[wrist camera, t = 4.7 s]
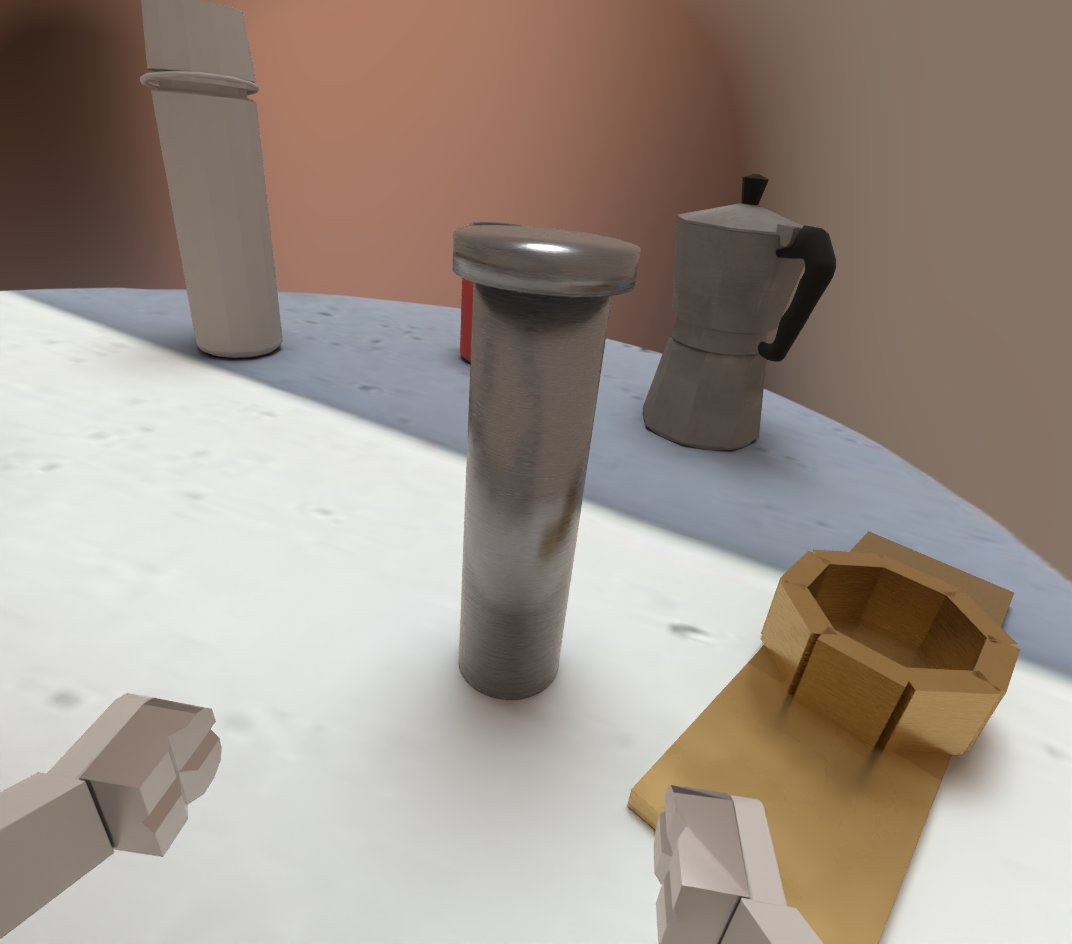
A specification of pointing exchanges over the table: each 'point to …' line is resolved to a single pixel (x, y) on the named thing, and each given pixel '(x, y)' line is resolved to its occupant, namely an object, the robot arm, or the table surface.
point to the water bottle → (214, 172)
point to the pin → (529, 438)
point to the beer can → (470, 306)
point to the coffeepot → (732, 317)
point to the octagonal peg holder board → (849, 722)
